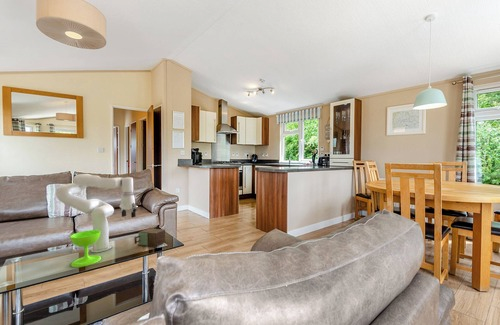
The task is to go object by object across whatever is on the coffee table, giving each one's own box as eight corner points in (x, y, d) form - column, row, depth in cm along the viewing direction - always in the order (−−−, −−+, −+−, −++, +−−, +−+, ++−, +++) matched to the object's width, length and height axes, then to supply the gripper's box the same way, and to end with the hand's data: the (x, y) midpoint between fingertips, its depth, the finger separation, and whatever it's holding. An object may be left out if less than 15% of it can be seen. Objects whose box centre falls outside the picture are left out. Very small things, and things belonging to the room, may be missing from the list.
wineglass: (106, 258, 150) (106, 231, 150) (80, 269, 135) (79, 239, 135) (91, 254, 157) (91, 229, 156) (65, 264, 142) (64, 236, 142)
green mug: (133, 246, 168) (133, 234, 168) (139, 243, 173) (139, 232, 173) (142, 247, 165) (142, 235, 165) (148, 244, 171) (147, 233, 171)
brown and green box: (137, 245, 172) (137, 232, 172) (149, 240, 183) (149, 228, 183) (154, 247, 167) (154, 234, 167) (165, 242, 178) (165, 229, 178)
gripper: (115, 194, 167) (115, 217, 167) (132, 195, 161) (132, 218, 161) (124, 192, 174) (124, 214, 174) (140, 193, 168) (141, 216, 168)
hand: (128, 216), depth 168 cm, fingers open, 9 cm apart
